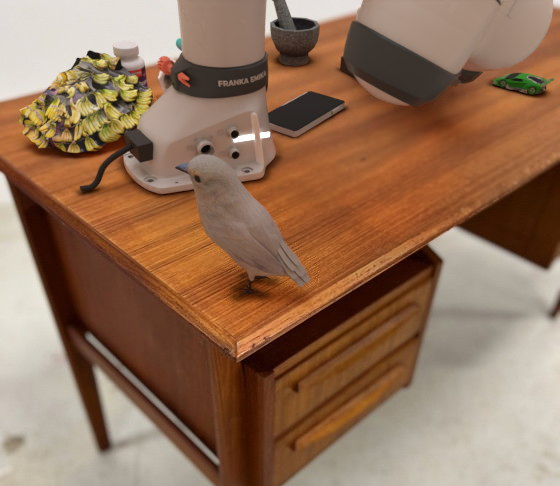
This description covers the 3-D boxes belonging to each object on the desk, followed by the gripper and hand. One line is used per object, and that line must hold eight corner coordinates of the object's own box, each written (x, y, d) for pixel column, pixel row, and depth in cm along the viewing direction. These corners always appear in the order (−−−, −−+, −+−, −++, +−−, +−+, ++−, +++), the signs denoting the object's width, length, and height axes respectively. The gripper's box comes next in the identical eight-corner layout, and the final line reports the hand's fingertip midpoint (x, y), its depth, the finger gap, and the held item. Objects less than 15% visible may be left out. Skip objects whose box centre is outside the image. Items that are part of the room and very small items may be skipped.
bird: (203, 260, 66) (182, 139, 56) (315, 280, 63) (316, 156, 52) (185, 287, 63) (160, 164, 52) (303, 310, 59) (301, 183, 49)
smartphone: (256, 118, 93) (308, 90, 102) (256, 125, 94) (308, 96, 102) (296, 131, 89) (347, 101, 98) (296, 139, 90) (346, 108, 99)
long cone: (199, 64, 116) (201, 92, 100) (169, 75, 116) (167, 104, 101) (188, 35, 112) (189, 59, 97) (158, 45, 112) (154, 71, 97)
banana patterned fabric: (59, 183, 84) (36, 153, 78) (15, 124, 91) (-9, 92, 85) (170, 112, 87) (156, 78, 82) (120, 60, 94) (104, 25, 89)
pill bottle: (137, 113, 96) (128, 52, 89) (111, 107, 97) (100, 46, 91) (156, 101, 99) (148, 42, 93) (131, 96, 101) (121, 37, 94)
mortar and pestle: (327, 61, 116) (331, -5, 108) (294, 72, 112) (297, 4, 103) (288, 48, 122) (289, -16, 114) (256, 57, 117) (255, -8, 109)
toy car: (489, 85, 108) (492, 72, 107) (499, 78, 111) (502, 66, 109) (542, 97, 104) (546, 84, 102) (550, 90, 106) (554, 77, 105)
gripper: (491, 6, 94) (454, -14, 104) (374, 11, 91) (347, -10, 101) (481, 46, 99) (446, 24, 109) (369, 53, 95) (344, 29, 105)
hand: (398, 8), depth 105 cm, fingers closed on cup, 6 cm apart
